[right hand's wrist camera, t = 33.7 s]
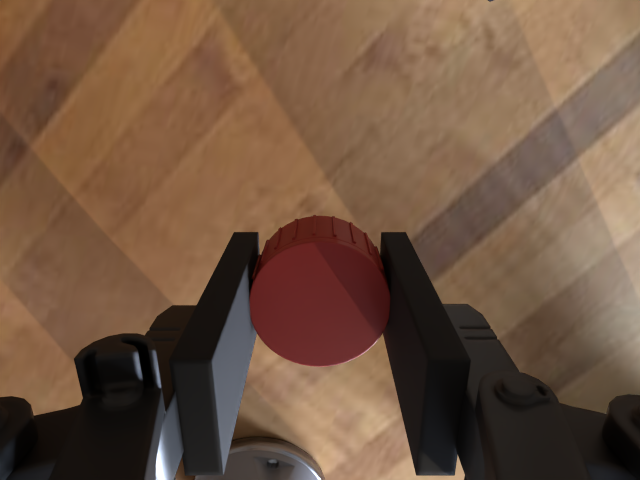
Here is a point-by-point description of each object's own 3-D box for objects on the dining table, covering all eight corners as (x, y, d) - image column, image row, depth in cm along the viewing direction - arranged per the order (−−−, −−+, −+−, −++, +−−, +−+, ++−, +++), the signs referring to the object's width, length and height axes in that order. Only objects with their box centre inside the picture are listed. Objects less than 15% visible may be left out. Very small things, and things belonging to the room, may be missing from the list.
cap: (332, 187, 13) (334, 209, 11) (406, 284, 14) (421, 320, 12) (230, 262, 14) (216, 294, 12) (309, 348, 15) (307, 391, 13)
